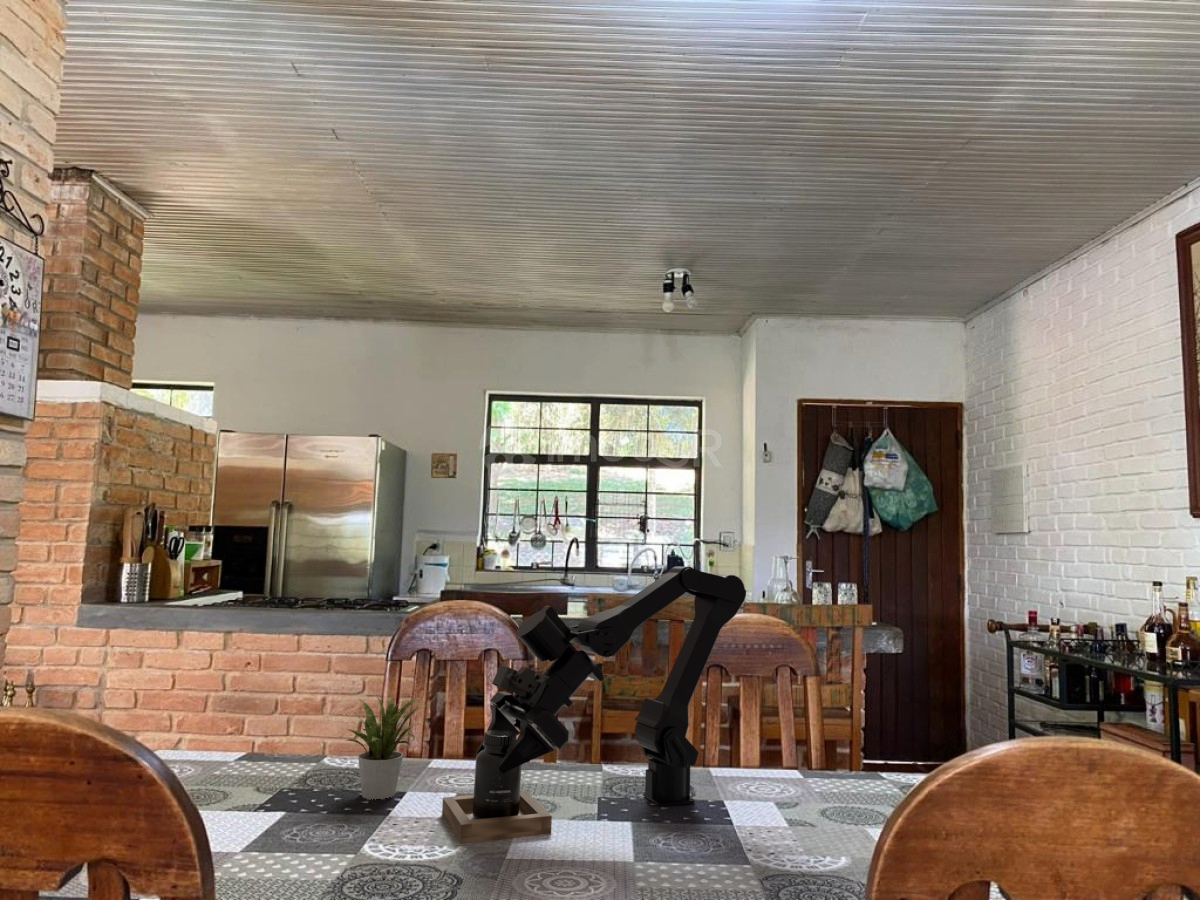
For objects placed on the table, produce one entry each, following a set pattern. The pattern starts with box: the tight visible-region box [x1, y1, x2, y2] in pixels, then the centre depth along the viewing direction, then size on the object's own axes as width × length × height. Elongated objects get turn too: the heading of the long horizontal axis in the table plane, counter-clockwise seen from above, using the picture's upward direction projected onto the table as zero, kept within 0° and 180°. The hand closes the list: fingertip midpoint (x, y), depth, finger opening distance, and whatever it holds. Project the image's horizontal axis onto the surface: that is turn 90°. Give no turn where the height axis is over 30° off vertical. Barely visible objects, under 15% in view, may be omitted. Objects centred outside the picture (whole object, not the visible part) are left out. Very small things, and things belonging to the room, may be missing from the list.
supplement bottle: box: [473, 730, 523, 820], centre depth 117 cm, size 7×7×12 cm
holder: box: [441, 790, 553, 844], centre depth 116 cm, size 13×13×2 cm
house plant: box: [344, 692, 430, 801], centre depth 130 cm, size 14×14×16 cm
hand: (488, 763), depth 117 cm, fingers open, 9 cm apart
